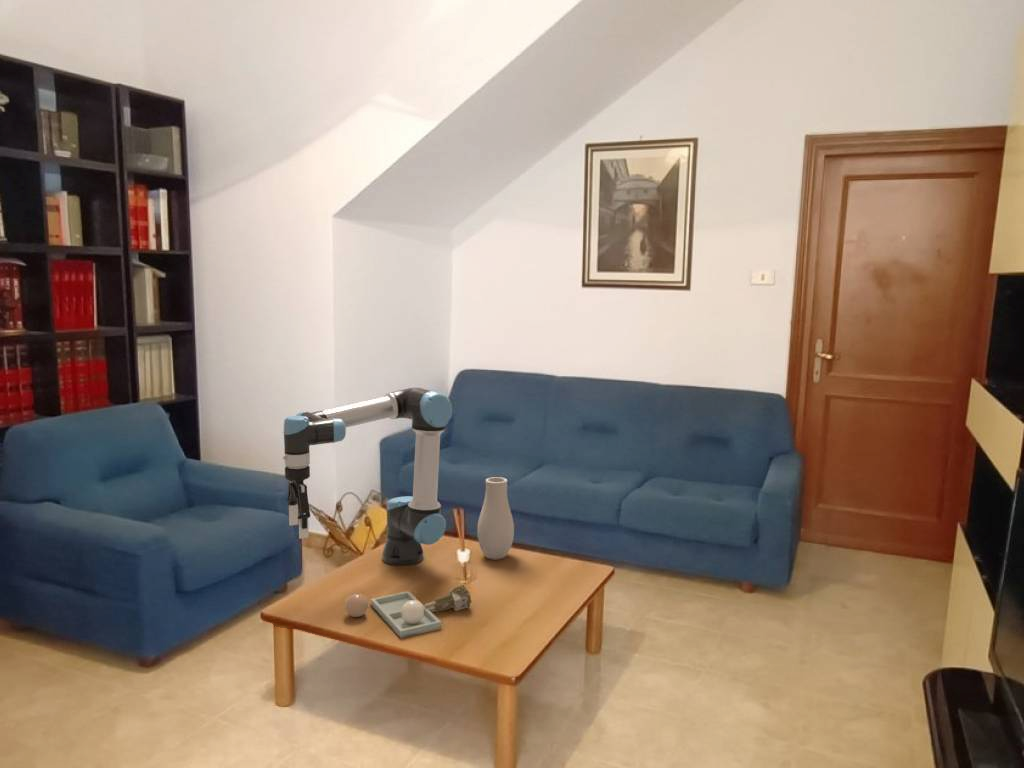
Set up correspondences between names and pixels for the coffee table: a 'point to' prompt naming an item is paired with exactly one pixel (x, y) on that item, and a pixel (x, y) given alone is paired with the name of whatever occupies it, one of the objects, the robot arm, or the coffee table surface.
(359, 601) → the pink ball
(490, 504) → the vase
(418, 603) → the cream egg
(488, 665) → the coffee table surface
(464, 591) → the toy
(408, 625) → the divided tray
